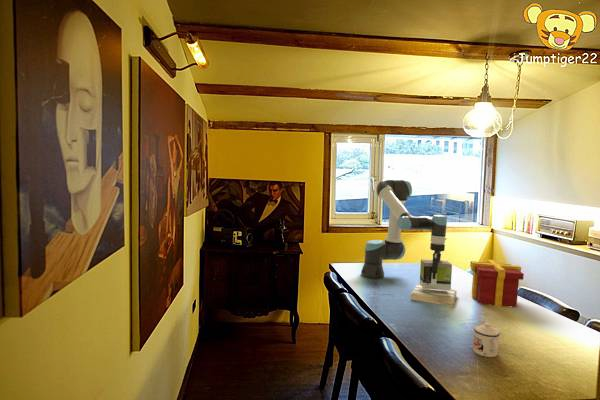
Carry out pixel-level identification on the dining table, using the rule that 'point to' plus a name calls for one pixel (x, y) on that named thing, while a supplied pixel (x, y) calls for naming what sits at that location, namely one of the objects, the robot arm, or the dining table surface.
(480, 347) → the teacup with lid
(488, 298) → the gift box
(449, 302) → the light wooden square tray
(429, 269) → the tea box
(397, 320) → the dining table surface
